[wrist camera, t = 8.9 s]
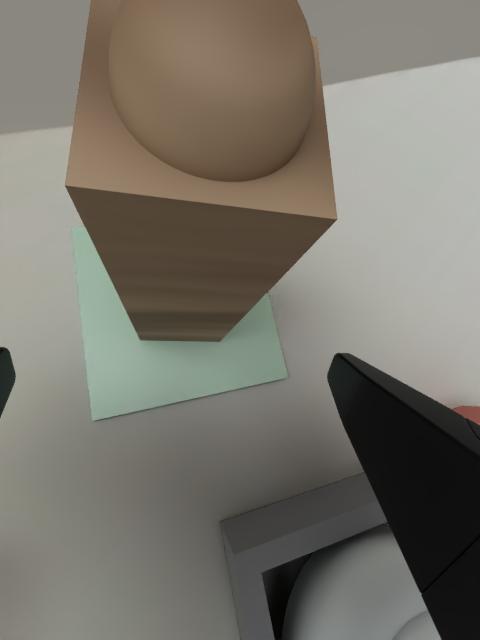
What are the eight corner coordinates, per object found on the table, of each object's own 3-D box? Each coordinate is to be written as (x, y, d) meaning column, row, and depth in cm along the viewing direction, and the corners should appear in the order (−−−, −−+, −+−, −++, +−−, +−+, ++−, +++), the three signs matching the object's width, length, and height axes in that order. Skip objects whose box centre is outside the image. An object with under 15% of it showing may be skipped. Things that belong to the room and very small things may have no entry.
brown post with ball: (219, 341, 18) (413, 139, 4) (140, 340, 17) (1, 55, 3) (219, 271, 19) (368, -88, 5) (144, 265, 18) (62, -210, 4)
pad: (285, 378, 19) (288, 377, 18) (93, 420, 16) (91, 421, 15) (248, 219, 21) (249, 216, 20) (73, 230, 18) (71, 226, 17)
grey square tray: (470, 685, 17) (544, 756, 13) (271, 813, 13) (305, 948, 10) (402, 459, 19) (452, 472, 16) (219, 521, 16) (234, 554, 12)
